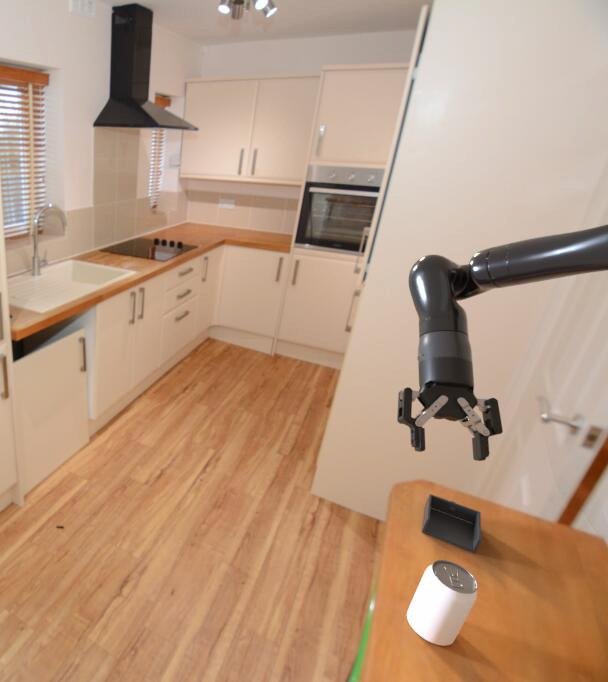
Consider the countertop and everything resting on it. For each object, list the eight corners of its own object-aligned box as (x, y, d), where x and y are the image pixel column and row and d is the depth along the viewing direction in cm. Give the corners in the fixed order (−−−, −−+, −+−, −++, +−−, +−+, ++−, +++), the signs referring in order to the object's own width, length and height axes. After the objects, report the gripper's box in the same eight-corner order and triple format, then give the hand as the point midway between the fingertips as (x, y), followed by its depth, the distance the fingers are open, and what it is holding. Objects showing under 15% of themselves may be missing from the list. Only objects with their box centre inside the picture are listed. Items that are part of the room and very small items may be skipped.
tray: (474, 553, 86) (481, 540, 84) (421, 532, 90) (427, 519, 89) (474, 519, 93) (480, 506, 91) (425, 501, 97) (430, 488, 96)
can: (444, 613, 75) (469, 562, 70) (461, 652, 70) (490, 600, 64) (400, 603, 77) (422, 553, 72) (413, 641, 71) (437, 589, 66)
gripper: (408, 350, 78) (410, 445, 73) (506, 360, 75) (516, 460, 70) (390, 363, 85) (391, 451, 80) (479, 373, 81) (486, 465, 76)
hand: (449, 455), depth 75 cm, fingers open, 8 cm apart
